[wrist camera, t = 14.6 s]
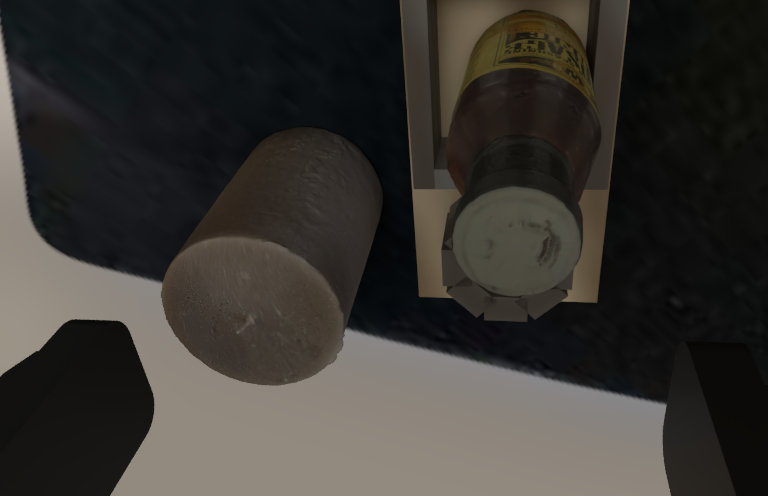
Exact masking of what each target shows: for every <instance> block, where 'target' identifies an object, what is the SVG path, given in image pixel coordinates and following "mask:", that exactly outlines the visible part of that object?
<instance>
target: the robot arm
mask: <svg viewBox="0 0 768 496" xmlns="http://www.w3.org/2000/svg"><path fill="white" fill-rule="evenodd" d="M153 415H154V397H153V393H152V390H151V387H150V384H149V382H148V379H147V377H146V374H145V371H144V369H143V366H142V363H141V361H140V358H139V355H138V353H137V350H136V347H135V345H134V343H133V340H132V337H131V334H130V332H129V330H128V328H127V327H126V325H124V324H123V323H122V322H120V321H106V320H77V319H75V320H70V321H68V322H66V323H65V324H63V325H62V326H61V327H60V328H59V329H58V330H57V332H56V333H55V334H54V335H53V336H52V337H51V338H50V339H49V340H48V342H47V343H46V344H45V345H44V346H43V347H42V348H41V349H40V350H39V351H36V352H35V353H33V354H32V355H30V356H29V357H27V358H26V359H24V360H23V361H21V362H20V363H18V364H17V365H15V366H14V367H12V368H11V369H9V370H8V371H7V372H5V373H4V374H3V375H2V376H1V377H0V496H110V495H111V493H112V491H113V490H114V488H115V486H116V485H117V483H118V481H119V480H120V478H121V476H122V475H123V473H124V472H125V470H126V468H127V467H128V465H129V463H130V462H131V460H132V458H133V457H134V455H135V453H136V452H137V450H138V449H139V447H140V445H141V443H142V442H143V440H144V439H145V437H146V435H147V433H148V432H149V429H150V427H151V423H152V420H153ZM663 455H664V464H665V470H666V474H667V479H668V483H669V488H670V492H671V496H768V385H765V384H764V382H763V379H762V377H761V375H760V373H759V370H758V368H757V366H756V363H755V361H754V359H753V357H752V354H751V352H750V350H749V348H748V347H747V346H746V345H745V344H743V343H722V342H692V341H682V342H680V343H679V345H678V348H677V351H676V356H675V362H674V367H673V373H672V379H671V384H670V390H669V396H668V401H667V407H666V413H665V419H664V426H663Z"/></svg>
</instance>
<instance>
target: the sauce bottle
mask: <svg viewBox="0 0 768 496" xmlns="http://www.w3.org/2000/svg"><path fill="white" fill-rule="evenodd" d="M601 138H602V135H601V124H600V118H599V111H598V107H597V103H596V98H595V93H594V87H593V83H592V79H591V74H590V69H589V64H588V59H587V55H586V51H585V48H584V46H583V44H582V41H581V40H580V38H579V37H578V35H577V34H576V33H575V31H574V30H573V29H572V28H571V27H570V26H569V25H568V24H567V23H566V22H565V21H564V20H562V19H560V18H558V17H556V16H553V15H550V14H548V13H546V12H540V11H534V10H521V11H519V12H517V13H514V14H511V15H509V16H505V17H504V18H502V19H500V20H498V21H497V22H496V23H494V24H493V25H492V26H490V27H489V28H488V29H487V30H486V31H485V32H484V33H483V34H482V36H481V37H480V38H479V40H478V41H477V43H476V44H475V46H474V48H473V51H472V53H471V55H470V59H469V62H468V66H467V69H466V72H465V76H464V79H463V83H462V86H461V89H460V92H459V95H458V98H457V101H456V104H455V107H454V110H453V113H452V119H451V124H450V128H449V134H448V139H447V147H446V153H447V155H446V157H447V170H448V172H449V173H450V176H451V178H452V180H453V182H454V184H455V187H456V188H457V189H458V191H459V193H460V194H461V196H462V198H461V199H460V201H459V203H458V206H457V208H456V212H455V215H454V220H453V225H452V240H451V243H452V251H453V253H454V255H455V258H456V261H457V263H458V264H459V266H460V268H461V269H462V270H463V272H464V273H465V275H467V276H468V277H469V278H470V279H471V280H472V281H474V282H475V283H477V284H479V285H481V286H483V287H484V288H486V289H487V290H489V291H491V292H494V293H497V294H501V295H506V296H521V295H533V294H538V293H542V292H545V291H547V290H549V289H551V288H553V287H555V286H556V285H558V284H559V283H560V282H561V281H563V280H564V279H565V278H567V277H568V276H569V274H570V273H571V271H572V270H573V269H574V267H575V266H576V265H577V263H578V261H579V259H580V256H581V251H582V245H583V216H582V211H581V208H580V206H579V204H578V203H579V201H580V199H581V196H582V194H583V191H584V188H585V185H586V183H587V180H588V177H589V175H590V172H591V169H592V166H593V164H594V161H595V158H596V155H597V153H598V150H599V147H600V144H601Z"/></svg>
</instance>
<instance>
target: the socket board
mask: <svg viewBox="0 0 768 496" xmlns="http://www.w3.org/2000/svg"><path fill="white" fill-rule="evenodd" d="M629 4H630V0H400V11H401V26H402V41H403V56H404V71H405V87H406V102H407V117H408V132H409V148H410V163H411V178H412V193H413V209H414V224H415V239H416V254H417V270H418V285H419V297H441V298H454V299H455V300H456V301H457V302H458V303H460V304H461V305H462V306H463V307H465V308H466V309H467V310H468V311H469V312H471V313H472V314H473V315H474V316H476V317H478V316H479V315H480V314H482V313H483V312H484V320H494V321H520V322H527V313H528V314H529V315H530V316H531V317H533V318H534V319H537V318H538V317H539V316H541V315H542V314H544V313H545V312H546V311H548V310H549V309H551V308H552V307H554V306H555V305H556V304H558V303H559V302H561V301H564V302H595V303H597V297H598V287H599V278H600V269H601V260H602V251H603V242H604V232H605V223H606V214H607V205H608V196H609V187H610V178H611V168H612V159H613V150H614V141H615V132H616V123H617V113H618V104H619V95H620V86H621V77H622V68H623V58H624V49H625V40H626V31H627V22H628V13H629ZM521 10H534V11H540V12H546V13H548V14H550V15H553V16H556V17H558V18H560V19H562V20H564V21H565V22H566V23H567V24H568V25H569V26H570V27H571V28H572V29H573V30H574V31H575V33H576V34H577V35H578V37H579V38H580V40H581V41H582V44H583V46H584V48H585V51H586V55H587V59H588V64H589V69H590V74H591V79H592V83H593V87H594V93H595V98H596V103H597V107H598V111H599V118H600V124H601V135H602V138H601V144H600V147H599V150H598V153H597V155H596V158H595V161H594V164H593V166H592V169H591V172H590V175H589V177H588V180H587V183H586V185H585V188H584V191H583V194H582V196H581V199H580V201H579V203H578V204H579V206H580V208H581V211H582V216H583V245H582V251H581V256H580V259H579V261H578V263H577V265H576V266H575V267H574V269H573V270H572V271H571V273H570V274H569V276H568V277H567V278H565V279H564V280H563V281H561V282H560V283H559V284H558V285H556V286H555V287H553V288H551V289H549V290H547V291H545V292H542V293H538V294H533V295H521V296H506V295H501V294H497V293H494V292H491V291H489V290H487V289H486V288H484V287H483V286H481V285H479V284H477V283H475V282H474V281H472V280H471V279H470V278H469V277H468V276H467V275H465V273H464V272H463V270H462V269H461V268H460V266H459V264H458V263H457V261H456V258H455V255H454V253H453V251H452V243H451V240H452V225H453V220H454V215H455V212H456V208H457V206H458V203H459V201H460V199H461V198H462V196H461V194H460V193H459V191H458V189H457V188H456V187H455V184H454V182H453V180H452V178H451V176H450V173H449V172H448V170H447V157H446V155H447V153H446V147H447V139H448V134H449V128H450V124H451V119H452V113H453V110H454V107H455V104H456V101H457V98H458V95H459V92H460V89H461V86H462V83H463V79H464V76H465V72H466V69H467V66H468V62H469V59H470V55H471V53H472V51H473V48H474V46H475V44H476V43H477V41H478V40H479V38H480V37H481V36H482V34H483V33H484V32H485V31H486V30H487V29H488V28H489V27H490V26H492V25H493V24H494V23H496V22H497V21H498V20H500V19H502V18H504V17H505V16H509V15H511V14H514V13H517V12H519V11H521Z"/></svg>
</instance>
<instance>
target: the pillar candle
mask: <svg viewBox="0 0 768 496" xmlns="http://www.w3.org/2000/svg"><path fill="white" fill-rule="evenodd" d="M382 206H383V191H382V186H381V183H380V180H379V178H378V176H377V174H376V172H375V170H374V168H373V166H372V165H371V163H370V162H369V161H368V159H367V158H366V157H365V155H364V154H363V153H362V151H361V150H360V149H359V148H358V147H357V146H355V145H354V144H353V143H351V142H350V141H349V140H347V139H346V138H344V137H342V136H340V135H338V134H336V133H333V132H329V131H327V130H324V129H321V128H313V127H298V128H292V129H287V130H284V131H280V132H276V133H274V134H272V135H271V136H269V137H267V138H265V139H264V140H263V141H261V142H260V143H259V145H258V146H257V147H256V148H255V149H254V150H253V151H252V152H251V154H250V155H249V157H248V158H247V160H246V161H245V162H244V164H243V165H242V166H241V167H240V169H239V170H238V171H237V173H236V174H235V176H234V177H233V179H232V180H231V181H230V183H228V184H227V186H226V187H225V188H224V190H223V191H222V193H221V194H220V196H219V197H218V199H217V200H216V201H215V203H214V204H213V206H212V207H211V209H210V210H209V211H208V213H207V214H206V215H205V217H204V218H203V219H202V221H201V222H200V223H199V225H198V226H197V227H196V229H195V230H194V232H193V233H192V234H191V236H190V237H189V239H188V240H187V241H186V243H185V244H184V245H183V247H182V248H181V250H180V251H179V253H178V254H177V255H176V256H175V258H174V259H173V261H172V263H171V264H170V266H169V268H168V270H167V272H166V275H165V277H164V281H163V285H162V292H161V298H162V303H163V307H164V311H165V315H166V319H167V320H168V323H169V325H170V326H171V328H172V330H173V332H174V334H175V335H176V337H178V338H179V340H180V341H181V343H183V344H184V346H185V347H186V348H187V349H188V350H189V352H190V353H191V354H192V355H193V356H195V357H196V358H198V359H199V360H201V361H202V362H203V363H204V364H206V365H207V366H208V367H210V368H211V369H213V370H215V371H217V372H219V373H221V374H223V375H226V376H228V377H230V378H233V379H237V380H239V381H242V382H247V383H252V384H259V385H284V384H288V383H295V382H298V381H301V380H304V379H307V378H309V377H311V376H313V375H315V374H317V373H318V372H319V371H321V370H322V369H324V368H325V367H326V366H327V365H328V364H331V363H333V362H334V361H335V360H336V358H337V353H339V352H340V350H341V349H342V347H343V340H342V338H343V337H344V331H345V328H346V326H347V322H348V318H349V315H350V311H351V308H352V305H353V302H354V299H355V296H356V293H357V290H358V287H359V284H360V280H361V277H362V274H363V271H364V268H365V265H366V262H367V258H368V255H369V252H370V249H371V246H372V243H373V239H374V235H375V232H376V229H377V225H378V223H379V219H380V215H381V211H382Z"/></svg>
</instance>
